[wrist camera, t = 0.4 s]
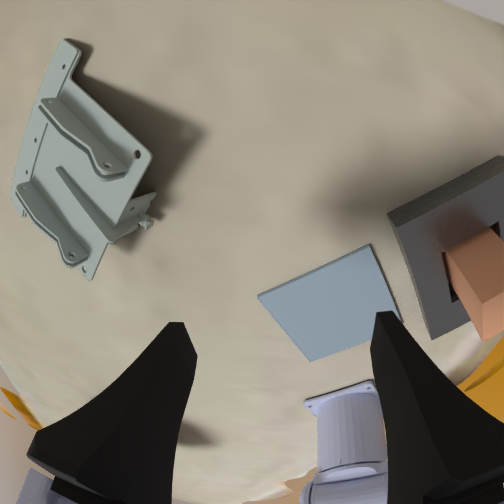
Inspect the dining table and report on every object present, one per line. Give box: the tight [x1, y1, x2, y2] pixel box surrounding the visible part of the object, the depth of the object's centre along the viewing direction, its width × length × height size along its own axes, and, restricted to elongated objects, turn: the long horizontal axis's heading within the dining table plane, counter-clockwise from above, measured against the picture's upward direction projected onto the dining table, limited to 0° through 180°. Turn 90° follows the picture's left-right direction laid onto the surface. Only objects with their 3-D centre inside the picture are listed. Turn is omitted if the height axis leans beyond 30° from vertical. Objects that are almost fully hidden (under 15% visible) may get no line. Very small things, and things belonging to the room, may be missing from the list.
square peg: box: [442, 227, 504, 342], centre depth 16 cm, size 4×4×7 cm
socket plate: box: [387, 156, 504, 340], centre depth 18 cm, size 12×10×2 cm
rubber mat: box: [257, 244, 401, 362], centre depth 23 cm, size 9×9×1 cm
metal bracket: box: [10, 39, 157, 281], centre depth 18 cm, size 14×6×15 cm
